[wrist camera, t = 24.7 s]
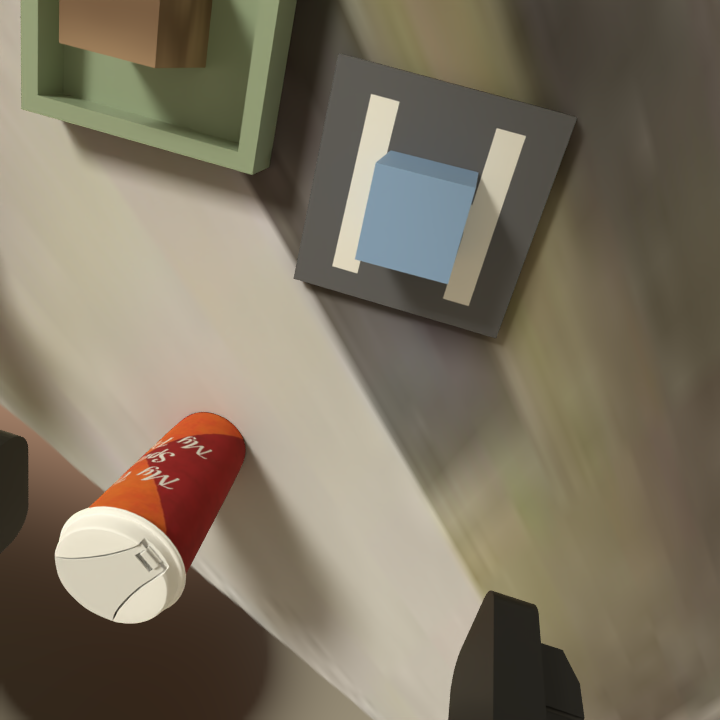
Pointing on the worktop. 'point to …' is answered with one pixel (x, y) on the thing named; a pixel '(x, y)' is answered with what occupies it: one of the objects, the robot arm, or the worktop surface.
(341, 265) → the letter mat
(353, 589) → the worktop surface
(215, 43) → the tray
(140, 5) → the walnut block
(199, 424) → the paper cup
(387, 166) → the slate cube
